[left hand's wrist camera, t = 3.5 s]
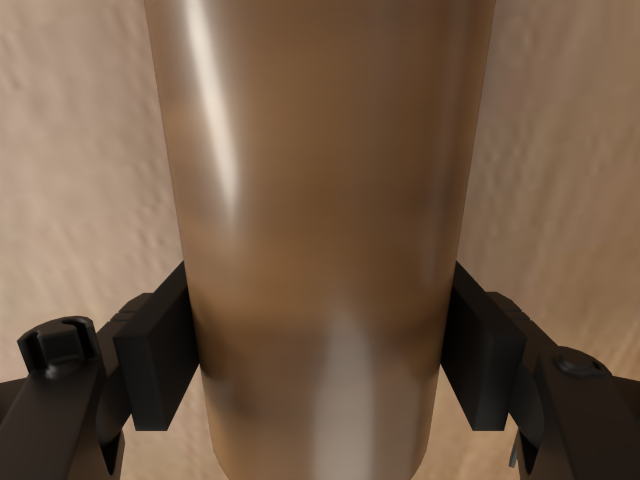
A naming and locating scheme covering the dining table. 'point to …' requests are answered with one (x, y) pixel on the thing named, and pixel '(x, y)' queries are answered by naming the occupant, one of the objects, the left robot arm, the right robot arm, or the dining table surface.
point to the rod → (319, 218)
